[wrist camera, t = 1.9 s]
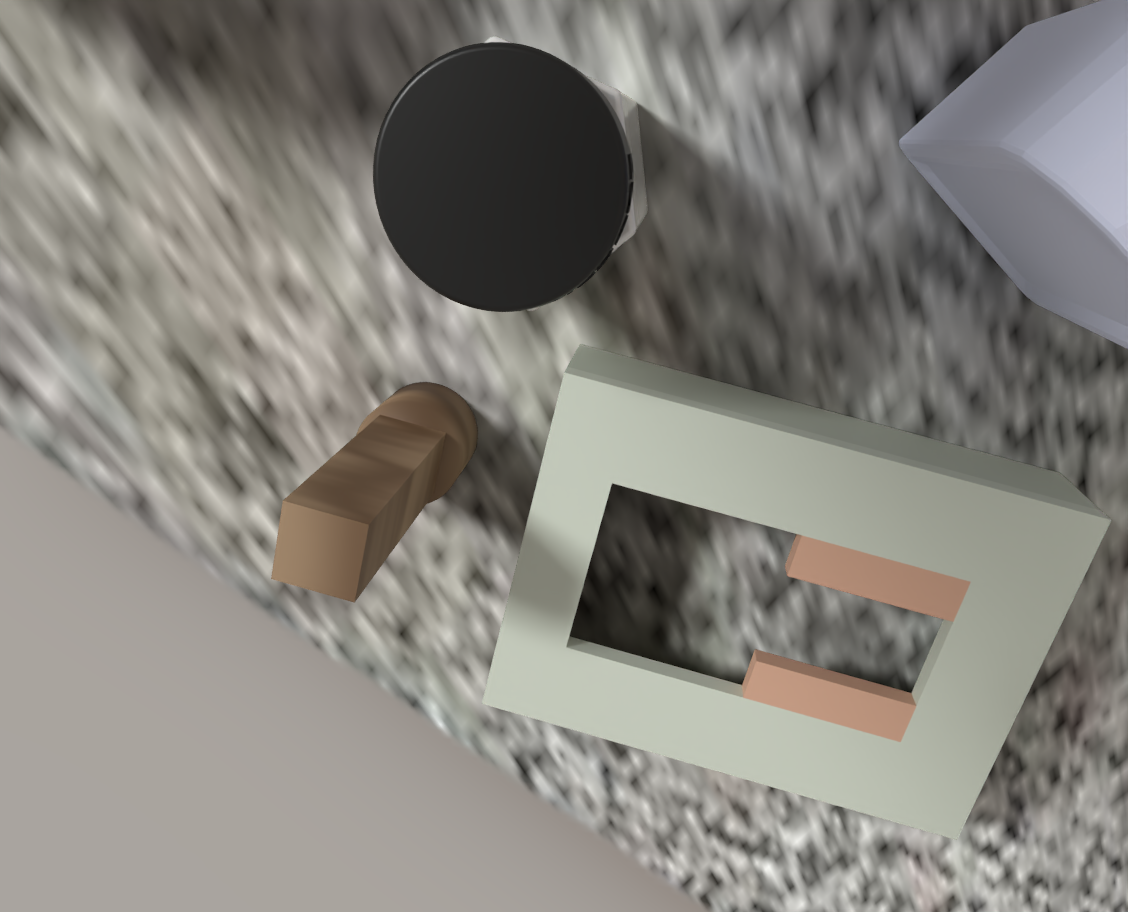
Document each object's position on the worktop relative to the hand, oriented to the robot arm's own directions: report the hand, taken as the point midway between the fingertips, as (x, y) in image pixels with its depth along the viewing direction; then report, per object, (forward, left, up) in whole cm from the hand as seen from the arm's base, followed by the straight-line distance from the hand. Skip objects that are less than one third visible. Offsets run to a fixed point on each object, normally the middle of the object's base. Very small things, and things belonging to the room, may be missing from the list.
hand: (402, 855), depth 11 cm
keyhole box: (+10, -9, -33) cm, 36 cm away
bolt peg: (-7, -7, -33) cm, 35 cm away
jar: (-4, +6, -33) cm, 34 cm away
